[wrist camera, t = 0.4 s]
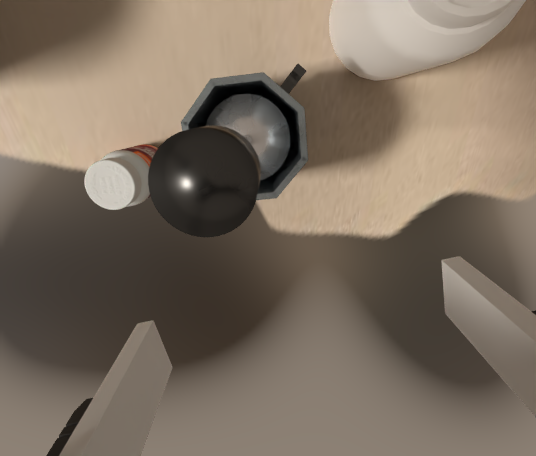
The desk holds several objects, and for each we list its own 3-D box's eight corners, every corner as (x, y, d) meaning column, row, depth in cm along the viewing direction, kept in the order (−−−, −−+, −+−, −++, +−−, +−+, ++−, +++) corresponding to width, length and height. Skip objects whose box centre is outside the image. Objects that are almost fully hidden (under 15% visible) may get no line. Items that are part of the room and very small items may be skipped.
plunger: (189, 145, 34) (45, 202, 13) (239, 74, 32) (170, -4, 11) (254, 196, 36) (227, 324, 14) (306, 132, 34) (367, 167, 12)
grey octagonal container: (189, 140, 44) (158, 151, 32) (256, 45, 40) (250, 16, 28) (260, 196, 46) (256, 225, 34) (330, 110, 42) (353, 109, 30)
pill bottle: (177, 152, 44) (146, 165, 33) (167, 196, 46) (134, 222, 35) (130, 137, 44) (83, 145, 33) (121, 183, 45) (75, 204, 35)
